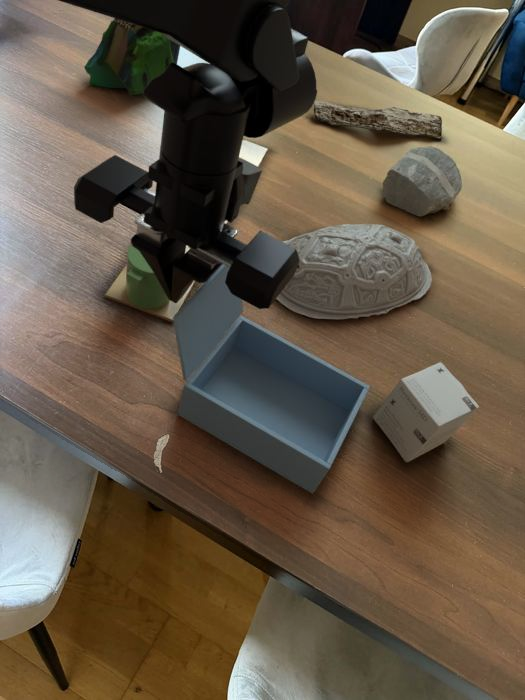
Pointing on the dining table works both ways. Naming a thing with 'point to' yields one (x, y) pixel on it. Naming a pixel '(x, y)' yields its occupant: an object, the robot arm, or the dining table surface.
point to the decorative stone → (423, 181)
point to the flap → (205, 320)
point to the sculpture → (130, 57)
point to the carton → (273, 402)
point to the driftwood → (380, 119)
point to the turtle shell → (354, 272)
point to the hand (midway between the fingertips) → (175, 299)
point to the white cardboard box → (424, 411)
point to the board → (167, 312)
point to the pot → (142, 283)
